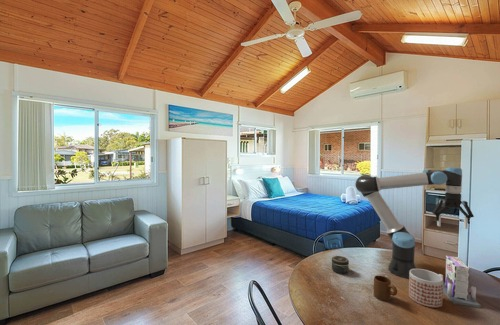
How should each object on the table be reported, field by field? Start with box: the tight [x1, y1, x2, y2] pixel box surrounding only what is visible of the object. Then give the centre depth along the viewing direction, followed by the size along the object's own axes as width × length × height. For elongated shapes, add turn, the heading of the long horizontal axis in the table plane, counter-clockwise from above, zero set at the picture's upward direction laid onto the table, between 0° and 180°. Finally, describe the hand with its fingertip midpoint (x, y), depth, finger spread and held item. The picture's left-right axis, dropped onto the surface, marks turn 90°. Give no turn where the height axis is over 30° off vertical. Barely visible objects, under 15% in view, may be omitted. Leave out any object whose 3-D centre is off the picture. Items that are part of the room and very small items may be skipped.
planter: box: [408, 268, 444, 309], centre depth 122 cm, size 14×14×13 cm
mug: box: [373, 275, 398, 302], centre depth 121 cm, size 12×8×9 cm, turn 20°
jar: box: [331, 255, 350, 275], centre depth 151 cm, size 10×10×8 cm
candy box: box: [444, 255, 470, 300], centre depth 126 cm, size 14×6×16 cm, turn 156°
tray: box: [438, 273, 482, 309], centre depth 127 cm, size 12×20×7 cm, turn 163°
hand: (451, 227), depth 149 cm, fingers open, 13 cm apart
